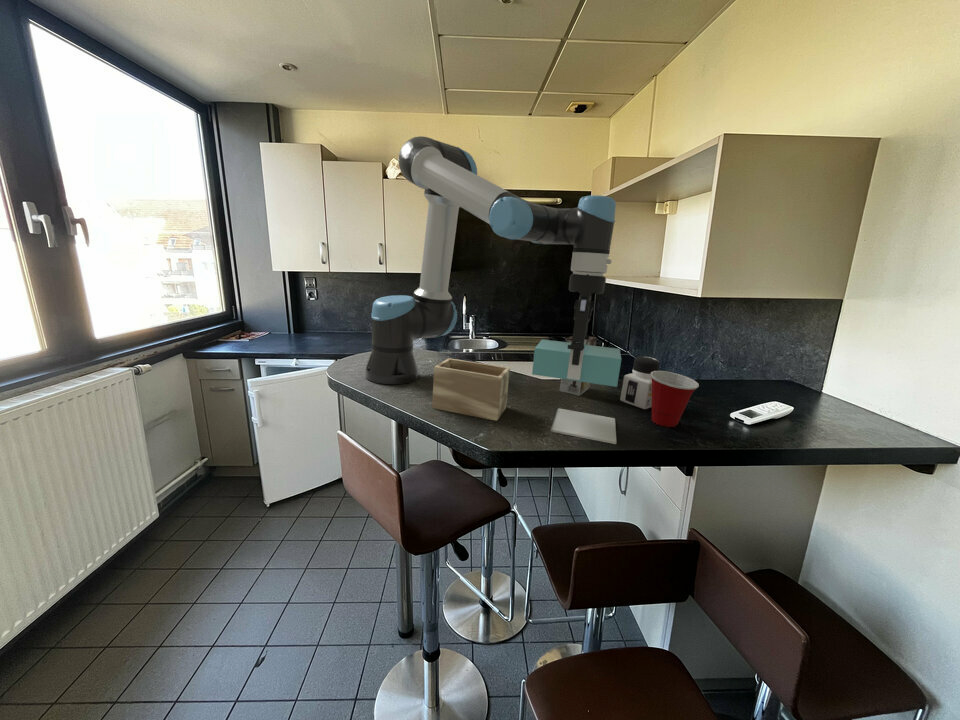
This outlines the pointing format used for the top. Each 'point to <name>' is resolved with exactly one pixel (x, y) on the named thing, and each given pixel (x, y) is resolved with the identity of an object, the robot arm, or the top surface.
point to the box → (470, 388)
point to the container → (639, 383)
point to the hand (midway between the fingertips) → (575, 372)
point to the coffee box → (576, 386)
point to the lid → (596, 363)
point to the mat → (584, 425)
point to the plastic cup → (670, 396)
